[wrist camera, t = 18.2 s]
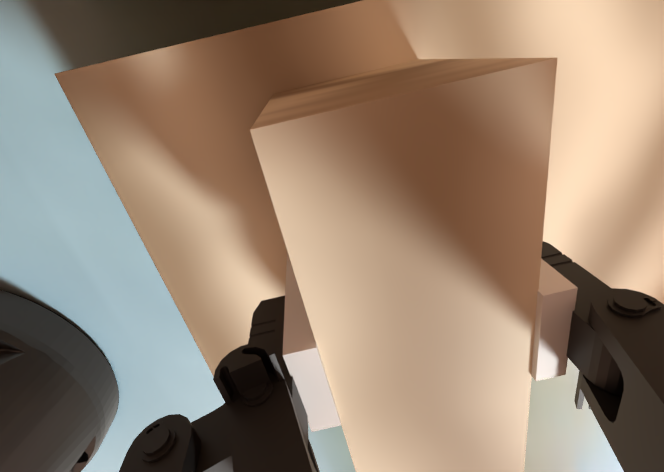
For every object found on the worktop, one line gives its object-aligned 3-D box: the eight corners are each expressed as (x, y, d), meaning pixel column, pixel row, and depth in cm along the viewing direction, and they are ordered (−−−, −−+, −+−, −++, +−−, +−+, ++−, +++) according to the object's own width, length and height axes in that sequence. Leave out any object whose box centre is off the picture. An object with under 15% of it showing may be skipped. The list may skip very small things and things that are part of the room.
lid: (232, 380, 20) (193, 581, 12) (80, 72, 12) (-263, 91, 5) (689, 276, 19) (943, 415, 12) (811, -102, 12) (1688, -378, 4)
